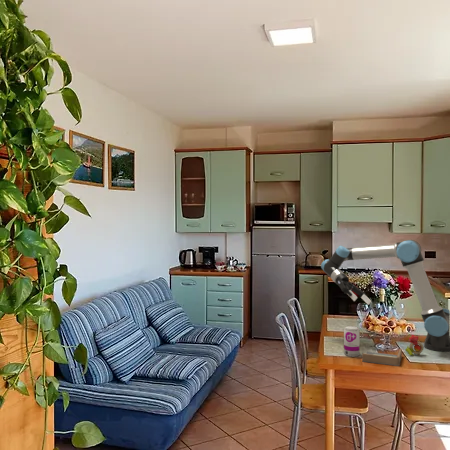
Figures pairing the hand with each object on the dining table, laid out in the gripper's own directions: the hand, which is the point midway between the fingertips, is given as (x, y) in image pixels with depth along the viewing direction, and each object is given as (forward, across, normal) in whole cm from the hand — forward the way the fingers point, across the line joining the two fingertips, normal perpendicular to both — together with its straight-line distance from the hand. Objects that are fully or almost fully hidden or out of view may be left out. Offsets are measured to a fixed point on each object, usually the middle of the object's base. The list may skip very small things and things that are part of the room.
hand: (363, 301), depth 251 cm
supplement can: (+16, +2, -26) cm, 30 cm away
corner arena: (+27, -4, -16) cm, 32 cm away
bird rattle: (+30, -24, -9) cm, 39 cm away
